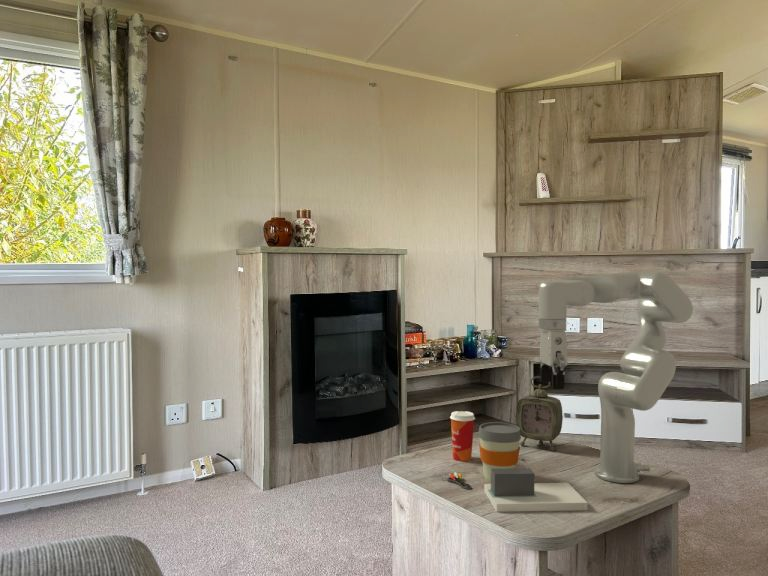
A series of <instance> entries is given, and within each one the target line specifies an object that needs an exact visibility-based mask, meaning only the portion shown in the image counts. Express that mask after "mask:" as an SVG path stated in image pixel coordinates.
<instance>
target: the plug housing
mask: <svg viewBox="0 0 768 576" xmlns="http://www.w3.org/2000/svg"><path fill="white" fill-rule="evenodd" d="M535 474H536V473H535V472H534V471H533V470H532V468H530V467H516V468H501V469H491V481H490V484H491V492H492V493H493V495H494V496H534V483H535Z"/></svg>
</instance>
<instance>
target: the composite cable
mask: <svg viewBox="0 0 768 576" xmlns="http://www.w3.org/2000/svg"><path fill="white" fill-rule="evenodd" d="M448 476H449V477H447V482H449V483H451V484H454V485H458V486H459V487H461V488H462V489H464V490H466V491H467V490H472V485H470V484H469V483H465V482H462V478H463V475H462V474H461V472H460V473H459V472H456V471H453V474H452V473H448Z"/></svg>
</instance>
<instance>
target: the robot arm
mask: <svg viewBox="0 0 768 576" xmlns="http://www.w3.org/2000/svg"><path fill="white" fill-rule="evenodd" d="M635 300H638V301H637V304H636V311H637V317H638V322H639V328H638V332H637V334H636V335H635V337H634V338H633V340H632V341H631V342H630V344H629V346H628V347H627V349H626V350H625V352H624V353H623V354H622V357H621V358H620V365H619V366H620V368H621V370H622V371H623V372H619V371H611V372H606V373H605V374H603V375H602V376H601V377H600V379H599V381H598V384H597V385H598V387H597V392H598V397H599V402H600V413H601V415H600V416H601V417H600V452H599V453H600V455H599V456H600V457H599V459H600V461H599V466H597V467H595V468H594V475H595V476H596V477H598V478H599V479H601V480H605V481H608V482H612V483H616V484H617V483H618V484H630V483H631V484H632V483H637V482H638V481H639V480H640V474H639V473H640V472H650V471H651V467H650V465H649V464H642V463H641V462H635V438H636V437H635V435H636V434H635V429H636V421H635V420H636V418H635V414H634V411H633V409H634V410H636V411H641V412H643V411H644V412H645V411H648V410H651V409H652V408H653V407H654V406H655V405H657V403H658V402H659V400H660V398H661V397H662V395H663V394H664V392H665V391H666V389H667V388H668V386H669V384H670V383H671V382H672V380H673V378H674V376H675V373H676V368H677V361H676V357H674V355H673V354H672V353H671V352H670V351H668V350H666V349H664V348H665V346H666V343H667V334H666V332H665V331H666V330H665V329H664V326H663V323H664V322H665V323H671V324H673V323H675V324H683V323H685V322H686V323H687V322H688V321H689V320H690V319H691V317H692V316H693V311H694V308H693V306H694V305H693V302H692V301H691V299H690V297H689V296H688V295H687V294H686V293H685V292H684V290H683V289H682V288H681V287H680V286H679V284H677V283H676V282H675V280H674V279H672V277H670V276H669V275H668V274H666V273H664V272H662V271H648V270H647V271H642V270H641V271H638V270H637V271H635V270H634V271H628V272H618V273H606V274H598V275H591V276H579V277H569V278H559V279H555V280H553V281H552V280H548V281H547V280H546V281H542V282H540V283H539V286H538V331H540V339H539V361H540V367H539V368H540V376H541V378H539V379H540V382H541V383H549V382H550V383H551V388H552V390H564V389H565V375H566V374H565V373H566V372H565V369H566V368H565V367H567V366H568V344H567V336H566V331H567V307H575V308H576V307H577V308H578V307H579V308H582V307H586V306H589V305H590V304H591V303H596V304H597V303H599V304H607V303H609V304H612V303H620V302H625V301H635Z"/></svg>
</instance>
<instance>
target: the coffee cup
mask: <svg viewBox="0 0 768 576" xmlns="http://www.w3.org/2000/svg"><path fill="white" fill-rule="evenodd" d="M449 418H450V423H451V425H450V427H451V428H450V430H451V447H452V448H451V449H452V458H453V460H454V461H457V462H469V461H471V460H472V455H473V454H472V452H473V442H474V441H473V439H474V426H475V425H474V424H475V420H476V417H475V414H474V413H473V412H471V411H463V410H461V411H458V410H457V411H452V412H451V415H450V416H449Z"/></svg>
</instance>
